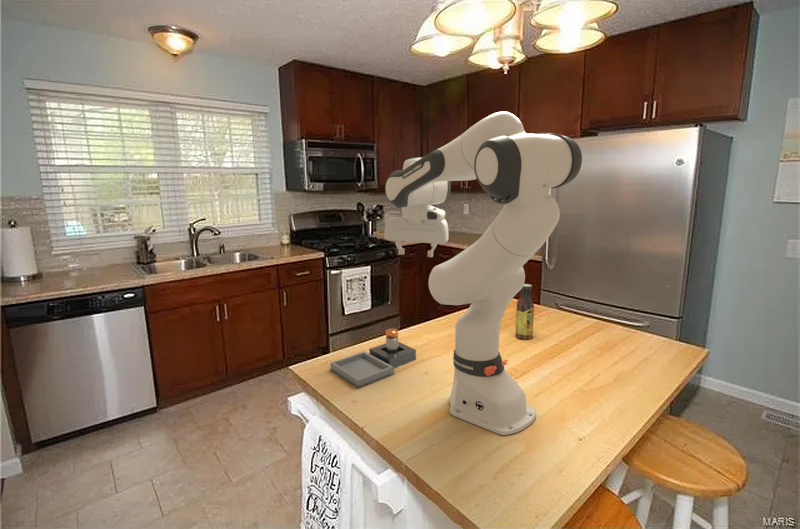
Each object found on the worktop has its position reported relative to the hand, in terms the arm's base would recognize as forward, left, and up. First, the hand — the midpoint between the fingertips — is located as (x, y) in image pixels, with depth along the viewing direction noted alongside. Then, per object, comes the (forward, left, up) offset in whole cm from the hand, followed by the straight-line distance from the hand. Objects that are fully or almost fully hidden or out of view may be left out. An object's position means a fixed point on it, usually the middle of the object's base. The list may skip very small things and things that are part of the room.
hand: (415, 255), depth 129 cm
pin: (+5, +7, -35) cm, 36 cm away
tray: (+4, +20, -35) cm, 40 cm away
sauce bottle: (-13, -41, -35) cm, 56 cm away
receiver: (+5, +7, -35) cm, 36 cm away
